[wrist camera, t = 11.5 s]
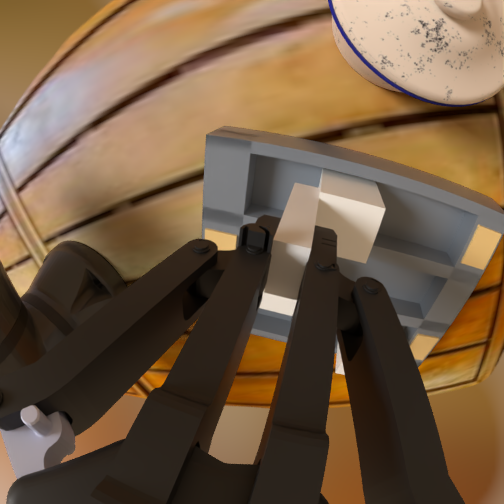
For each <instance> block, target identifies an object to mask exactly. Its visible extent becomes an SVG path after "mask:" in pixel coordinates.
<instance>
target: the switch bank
mask: <svg viewBox="0 0 504 504" xmlns="http://www.w3.org/2000/svg"><path fill="white" fill-rule="evenodd" d="M323 168H326V169H330V170H335V171H339V172H343V173H347V174H351V175H354V176H358V177H362V178H366V179H369V180H373V181H375V182H376V184H377V187H378V190H379V192H380V195H381V197H382V200H383V203H384V206H385V208H386V209H385V212H384V215H383V218H382V221H381V224H380V227H379V230H378V232H377V235H376V238H375V241H374V243H373V246H372V249H371V251H370V254H369V257H368V259H367V262H366V264H365V263H361V262H357V261H353V260H349V259H345V258H341V257H337V264H338V266H339V269H340V271H339V272H340V273H341V274H342V275H344V276H345V277H347V278H348V279H350V280H352V281H354V282H356V281H357V279H358V278H360V277H371V278H374V279H376V280H378V281H379V282H381V283H382V284H383V285H384V287H385V288H386V290H387V292H388V295H389V297H390V299H391V302H392V304H393V306H394V308H395V311H396V313H397V316H398V318H399V320H400V323H401V325H402V328H403V330H404V333H405V335H406V338H407V340H408V343H409V345H410V348H411V351H412V353H413V356H414V359H415V361H416V364H417V367H419V366H420V364H421V363H422V362H423V361H424V360H425V358H426V357H427V356H428V355H429V353H430V352H431V351H432V349H433V348H434V347H435V346H436V344H437V343H438V342H439V340H440V339H441V338H442V336H443V335H444V334H445V332H446V331H447V329H448V328H449V327H450V325H451V324H452V322H453V321H454V319H455V318H456V316H457V315H458V313H459V312H460V310H461V309H462V307H463V306H464V304H465V303H466V301H467V300H468V298H469V296H470V295H471V293H472V292H473V290H474V288H475V287H476V285H477V283H478V282H479V280H480V278H481V276H482V275H483V273H484V271H485V269H486V267H487V266H488V264H489V262H490V260H491V258H492V256H493V254H494V252H495V250H496V248H497V246H498V244H499V242H500V240H501V238H502V236H503V234H504V210H503V209H502V208H501V207H500V206H499V205H498V204H497V203H496V202H495V201H494V200H493V199H492V198H490V197H487V196H485V195H483V194H481V193H478V192H476V191H474V190H471V189H469V188H466V187H464V186H461V185H459V184H456V183H454V182H451V181H448V180H446V179H443V178H440V177H438V176H435V175H432V174H429V173H426V172H424V171H421V170H418V169H415V168H412V167H409V166H406V165H402V164H399V163H396V162H393V161H389V160H386V159H383V158H379V157H376V156H372V155H369V154H365V153H361V152H358V151H354V150H350V149H346V148H342V147H338V146H334V145H329V144H325V143H321V142H316V141H311V140H307V139H302V138H297V137H292V136H286V135H281V134H275V133H270V132H264V131H257V130H251V129H244V128H237V127H229V126H223V127H221V128H219V129H217V130H215V131H213V132H211V133H209V134H207V135H206V148H205V166H204V187H203V215H202V239H207V240H211V241H213V242H214V243H216V245H217V246H218V250H235V249H237V247H238V243H239V233H240V228H241V227H242V226H243V225H245V224H249V223H256V221H257V219H258V218H259V217H261V216H262V215H264V214H265V215H269V216H274V217H278V218H282V216H283V213H284V210H285V208H286V205H287V202H288V200H289V197H290V194H291V192H292V189H293V186H294V184H295V183H300V184H304V185H309V186H313V187H317V188H318V187H319V183H320V178H321V173H322V169H323ZM291 319H292V316H290V315H286V314H281V313H277V312H273V311H269V310H265V309H261V308H259V310H258V313H257V316H256V319H255V322H254V324H253V327H252V330H251V334H254V335H258V336H262V337H266V338H270V339H274V340H278V341H282V342H287V340H288V335H289V331H290V327H291V322H292V321H291ZM337 345H338V339H337V335H336V342H335V353H337Z"/></svg>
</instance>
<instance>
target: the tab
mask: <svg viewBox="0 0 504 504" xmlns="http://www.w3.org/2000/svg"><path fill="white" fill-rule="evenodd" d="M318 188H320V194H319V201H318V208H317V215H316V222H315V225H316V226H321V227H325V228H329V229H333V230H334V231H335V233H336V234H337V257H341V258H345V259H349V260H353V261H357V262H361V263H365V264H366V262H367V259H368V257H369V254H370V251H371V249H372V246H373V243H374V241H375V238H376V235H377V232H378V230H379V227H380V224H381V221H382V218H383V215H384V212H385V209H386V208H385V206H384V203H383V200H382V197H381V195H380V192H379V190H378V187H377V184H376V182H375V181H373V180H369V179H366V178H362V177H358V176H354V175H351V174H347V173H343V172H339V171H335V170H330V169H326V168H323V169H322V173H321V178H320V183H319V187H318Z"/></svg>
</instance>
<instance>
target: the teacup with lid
mask: <svg viewBox="0 0 504 504" xmlns="http://www.w3.org/2000/svg"><path fill="white" fill-rule="evenodd" d="M328 3H329V7H330V10H331V13H332V30H333V35H334V38H335V42H336V44H337V47H338V49H339V50H340V52H341V54H342V56H343V57H344V58H345V60H346V61H347V62H348V64H349V65H350V66H351V67H352V68H353V69H354V70H355V71H356V72H357V73H359V74H360V75H361V76H362V77H364V78H365V79H367V80H368V81H370V82H372V83H373V84H375V85H377V86H380V87H382V88H385V89H388V90H392V91H397V92H403V93H405V94H407V95H409V96H412V97H414V98H416V99H419V100H422V101H424V102H428V103H431V104H436V105H441V106H449V107H462V106H470V105H474V104H478V103H480V102H483V101H485V100H487V99H489V98H491V97H492V96H494V95H495V94H496V93H498V92H499V91H500V90H501V89H502V88H503V87H504V0H328Z"/></svg>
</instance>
